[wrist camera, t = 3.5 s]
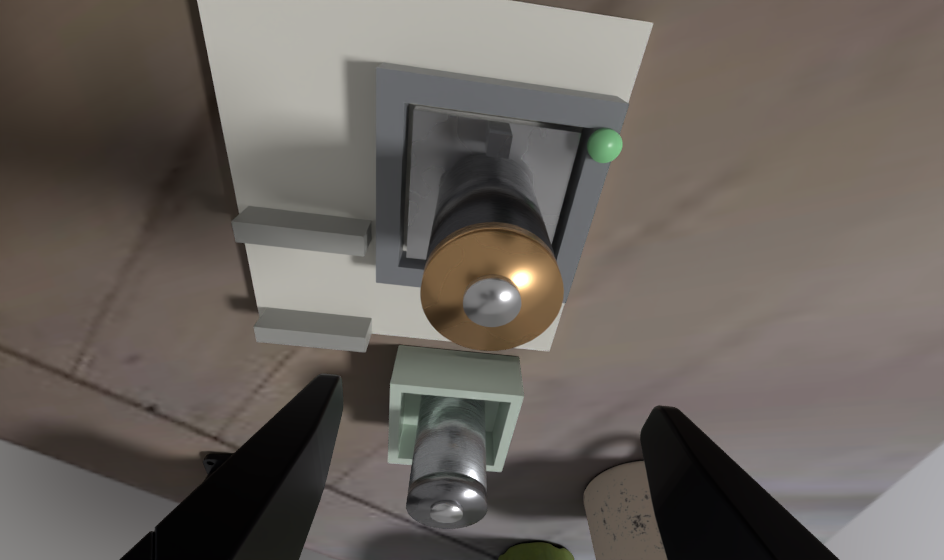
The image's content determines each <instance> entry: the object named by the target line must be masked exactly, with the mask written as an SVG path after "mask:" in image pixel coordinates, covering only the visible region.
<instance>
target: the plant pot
mask: <svg viewBox="0 0 944 560" xmlns="http://www.w3.org/2000/svg"><path fill="white" fill-rule="evenodd" d="M498 560H574V557H573V555H572V554H571V553H570V552H569V551H568V550H567V549H565V548H561V549H558V548H556V547H554V546H552V545H551V544H549V543H544V542H534V543H525V544H524V543H522V544H518V545H515V546H513V547H511V548H509V549H508V550H507V552H506V553H505V554H504V555H500V556H499V558H498Z"/></svg>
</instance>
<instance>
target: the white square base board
mask: <svg viewBox="0 0 944 560" xmlns="http://www.w3.org/2000/svg"><path fill="white" fill-rule="evenodd" d="M197 2H198V7H199V13H200V18H201V23H202V28H203V33H204V38H205V43H206V48H207V53H208V58H209V63H210V68H211V74H212V79H213V84H214V89H215V94H216V99H217V104H218V109H219V114H220V119H221V124H222V129H223V134H224V140H225V145H226V150H227V155H228V160H229V165H230V170H231V175H232V180H233V185H234V190H235V195H236V200H237V206H238V211H239V215H238V216H237V217H236V218H234V219H233V220H232V221H231V222H232V227H233V231H234V236H235V241H236V242H239V243H245V246H246V251H247V256H248V261H249V266H250V272H251V277H252V282H253V287H254V292H255V297H256V302H257V307H258V312H259V317H260V318H259V320H258V321H257V323H256V324H255V325H254V331H255V336H256V341H257V342H264V343H274V344H284V345H294V346H305V347H315V348H325V349H335V350H346V351H356V352H366V350H367V346H368V343H369V340H370V337H371V334H382V335H392V336H401V337H411V338H421V339H431V340H441V341H450V340H448V339H447V338H445V337H444V336H442V335H441V334H440V333H439V332H438V331H436V329H435V328H434V327H433V326H432V325H431V324H430V322H429V321H428V319H427V317H426V315H425V313H424V311H423V308H422V305H421V299H420V289H421V283H422V278H423V272H424V267H425V262H426V260H424V259H415V258H406V254H407V233H408V213H409V192H410V172H411V152H412V131H413V111H414V108H415V107H416V106H423V107H430V108H437V109H444V110H451V111H459V112H466V113H473V114H480V115H488V116H495V117H502V118H509V119H516V120H524V121H531V122H538V123H545V124H553V125H560V126H567V127H574V128H578V129H579V131H580V132H581V137H580V141H579V144H578V148H577V152H576V156H575V159H574V163H573V167H572V171H571V174H570V178H569V182H568V185H567V189H566V193H565V197H564V200H563V204H562V208H561V211H560V215H559V219H558V223H557V226H556V230H555V234H554V237H553V241H552V248H553V252H554V255H555V258H556V261H557V264H558V267H559V270H560V273H561V277H562V281H563V287H564V295H563V302H562V306H561V308H560V311H559V313H558V315H557V317H556V318H555V320H554V321H553V323H552V324H551V325H550V326H549V327H548V328H547V329H546V330H545V331H544V332H543V333H542V334H541V335H539V336H538V337H536V338H535V339H533V340H531V341H530V342H527V343H525V344H523V345H520V346H517V347H514V348H520V349H530V350H540V351H550V348H551V345H552V341H553V338H554V335H555V332H556V329H557V326H558V322H559V319H560V316H561V313H562V310H563V307H564V304H565V303H566V301H567V297H568V294H569V291H570V288H571V285H572V282H573V279H574V276H575V272H576V269H577V266H578V263H579V260H580V257H581V254H582V250H583V247H584V244H585V241H586V238H587V235H588V232H589V228H590V225H591V222H592V219H593V216H594V213H595V210H596V207H597V203H598V200H599V197H600V194H601V191H602V188H603V185H604V181H605V178H606V175H607V172H608V169H609V166H610V163H611V161H612V160H614V159H615V158H616V157H617V156H618V155H619V154H620V152H621V149H622V139H621V137H620V135H619V134H620V131H621V128H622V125H623V122H624V119H625V116H626V112H627V109H628V106H629V103H628V102H629V98H630V95H631V92H632V89H633V86H634V83H635V80H636V76H637V73H638V70H639V67H640V64H641V61H642V57H643V54H644V51H645V48H646V45H647V42H648V39H649V35H650V32H651V29H652V26H653V23H650V22H644V21H638V20H631V19H625V18H619V17H612V16H606V15H600V14H593V13H587V12H581V11H574V10H568V9H562V8H555V7H549V6H543V5H536V4H530V3H524V2H517V1H511V0H197ZM451 342H452V341H451Z"/></svg>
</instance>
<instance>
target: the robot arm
mask: <svg viewBox="0 0 944 560" xmlns="http://www.w3.org/2000/svg"><path fill="white" fill-rule="evenodd" d="M342 411H343V389H342V379H341V377H340V376H339V375H333V374H320V375H318V376H317V377H315V378H314V379H313V380H312V381H311V382H310V383H309V384H308V385H307V386H306V387H305V388H304V389H303V390H301V391H300V392H299V393H298V394H297V395H296V396H295V397H294V398H293V399H292V400H291V401H290V402H289V403H288V404H286V405H285V406H284V407H283V408H282V409H281V410H280V411H279V412H278V413H277V414H276V415H275V416H274V417H273V418H271V419H270V420H269V421H268V422H267V423H266V424H265V425H264V426H263V427H262V428H261V429H260V430H259V431H257V432H256V433H255V434H254V435H253V436H252V437H251V438H250V439H249V440H248V441H247V442H246V443H245V444H244V445H242V446H241V447H240V448H239V449H238V450H237V451H236V452H235V453H234V454H233V455H232V456H227V455H215V454H209V455H207V456H206V457H205V459H204V460H203V464H204V466H205V469H206V472H207V474H208V475H207V477H206V479H205V480H204V482H203V483H202V484H201V485H200V486H198V487H197V488H196V489H195V490H194V491H193V492H192V493H191V494H190V495H189V496H188V497H187V498H186V499H185V500H183V501H182V502H181V503H180V504H179V505H178V506H177V507H176V508H175V509H174V510H173V511H172V512H171V513H169V514H168V515H167V516H166V517H165V518H164V519H163V520H162V521H161V522H160V523H159V524H158V525H157V526H156V527H155V531H154V532H153V531H151V532H149V533H148V534H147V535H146V536H145V537H144V538H142V539H141V540H140V541H139V542H138V543H137V544H136V545H135V546H134V547H133V548H132V549H131V550H130V551H128V552H127V553H126V554H125V555H124V556H123V557H122V558H121V559H120V560H299V558H300V555H301V552H302V549H303V547H304V544H305V541H306V538H307V535H308V533H309V530H310V527H311V524H312V522H313V519H314V516H315V513H316V510H317V508H318V505H319V502H320V499H321V496H322V493H323V490H324V486H325V482H326V479H327V475H328V471H329V466H330V462H331V458H332V454H333V450H334V445H335V441H336V437H337V433H338V429H339V424H340V420H341V416H342ZM640 440H641V446H642V452H643V457H644V463H645V468H646V473H647V479H648V484H649V489H650V495H651V500H652V505H653V510H654V514H655V518H656V522H657V526H658V529H659V533H660V536H661V539H662V543H663V546H664V550H665V553H666V557H667V560H839V559H838V558H837V557H836V556H835V555H834V554H833V553H832V552H831V551H830V550H829V549H828V548H826V547H825V546H824V545H823V544H822V543H821V542H820V541H819V540H818V539H817V538H816V537H815V536H814V535H813V534H812V533H810V532H809V531H808V530H807V529H806V528H805V527H804V526H803V525H802V524H801V523H800V522H799V521H798V520H797V519H795V518H794V517H793V516H792V515H791V514H790V513H789V512H788V511H787V510H786V509H785V508H784V507H783V506H782V505H781V504H779V503H778V502H777V501H776V500H775V499H774V498H773V497H772V496H771V495H770V494H769V493H768V492H767V491H766V490H765V489H763V488H762V487H761V486H760V485H759V484H758V483H757V482H756V481H755V480H754V479H753V478H752V477H751V476H750V475H749V474H747V473H746V472H745V471H744V470H743V469H742V468H741V467H740V466H739V465H738V464H737V463H736V462H735V461H734V460H732V459H731V458H730V457H729V456H728V455H727V454H726V453H725V452H724V451H723V450H722V449H721V448H720V447H719V446H718V445H716V444H715V443H714V442H713V441H712V440H711V439H710V438H709V437H708V436H707V435H706V434H705V433H704V432H703V431H702V430H700V429H699V428H698V427H697V426H696V425H695V424H694V423H693V422H692V421H691V420H690V419H689V418H688V417H687V416H685V415H684V414H683V413H682V412H681V411H680V410H679V409H677V408H675V407H670V406H656V407H654V408H653V410H652V412H651V413H650V415H649V417H648V419H647V420H646V422H645V424H644V426H643V427H642V430H641V434H640Z"/></svg>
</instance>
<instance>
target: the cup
mask: <svg viewBox="0 0 944 560" xmlns="http://www.w3.org/2000/svg"><path fill="white" fill-rule="evenodd" d="M421 394H424V395H435V396H445V397H456V398H467V399H478V400H485V438H486V471H493V472H502V469H503V466H504V462H505V459H506V456H507V452H508V449H509V446H510V442H511V439H512V435H513V432H514V429H515V425H516V422H517V418H518V415H519V412H520V408H521V405H522V401H523V398H524V392H523V384H522V376H521V368H520V360H519V357H515V356H505V355H495V354H485V353H475V352H465V351H455V350H445V349H435V348H425V347H415V346H405V345H399V346H398V351H397V355H396V360H395V364H394V369H393V373H392V378H391V382H390V406H389V439H388V463H393V464H406V465H412V459H413V452H414V445H415V437H416V430H417V423H418V416H419V408H420V401H421Z"/></svg>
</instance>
